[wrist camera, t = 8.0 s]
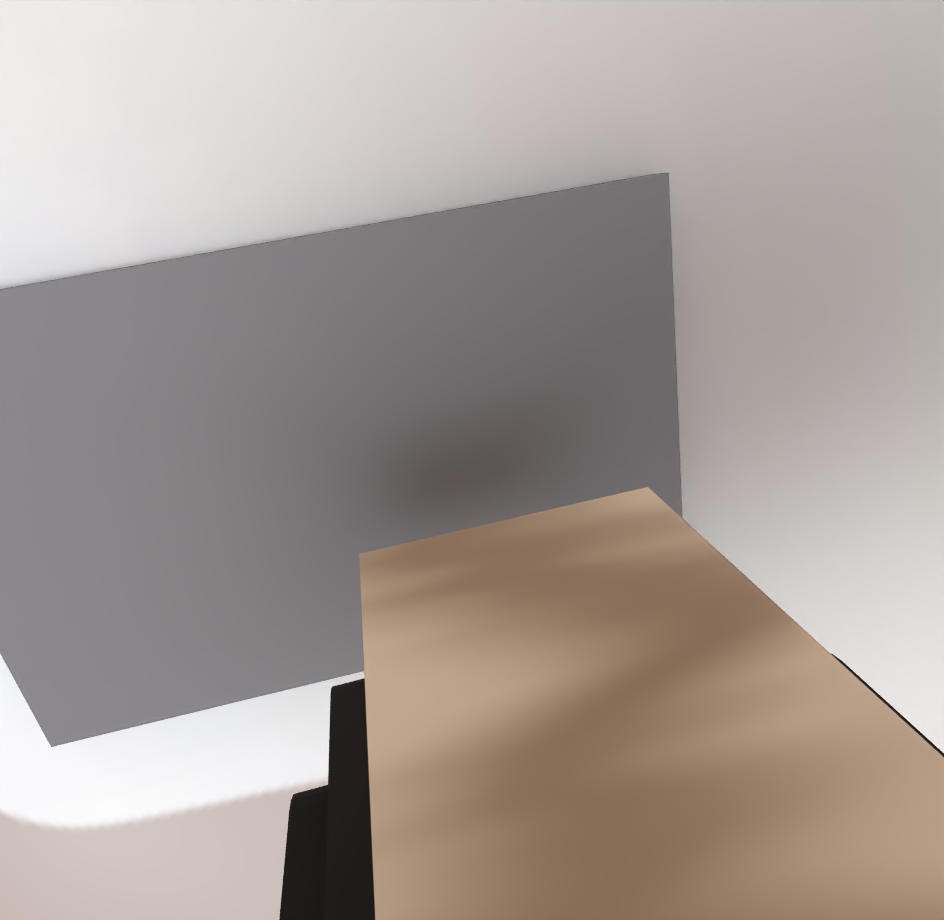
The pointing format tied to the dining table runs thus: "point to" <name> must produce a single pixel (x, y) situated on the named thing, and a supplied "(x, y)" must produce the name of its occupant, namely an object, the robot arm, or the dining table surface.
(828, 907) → the maple block
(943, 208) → the dining table surface
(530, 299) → the mat
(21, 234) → the dining table surface
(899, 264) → the dining table surface
